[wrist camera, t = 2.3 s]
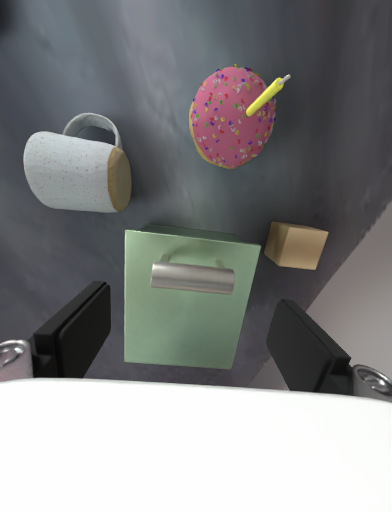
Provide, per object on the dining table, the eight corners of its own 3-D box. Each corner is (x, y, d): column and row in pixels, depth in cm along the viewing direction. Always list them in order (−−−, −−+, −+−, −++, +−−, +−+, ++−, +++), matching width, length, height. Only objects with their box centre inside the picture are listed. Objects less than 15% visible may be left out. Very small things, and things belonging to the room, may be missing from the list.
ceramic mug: (135, 212, 25) (113, 217, 18) (74, 206, 25) (26, 209, 18) (134, 123, 22) (108, 86, 15) (64, 114, 22) (2, 72, 14)
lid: (127, 228, 17) (98, 243, 12) (258, 243, 18) (288, 264, 13) (126, 356, 22) (105, 409, 17) (229, 363, 23) (242, 416, 18)
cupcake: (258, 91, 22) (335, -25, 10) (256, 170, 24) (315, 148, 13) (186, 97, 22) (182, -13, 10) (192, 175, 24) (194, 158, 13)
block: (271, 221, 27) (289, 227, 22) (304, 225, 27) (329, 232, 22) (263, 253, 28) (278, 265, 23) (294, 257, 28) (315, 270, 24)
